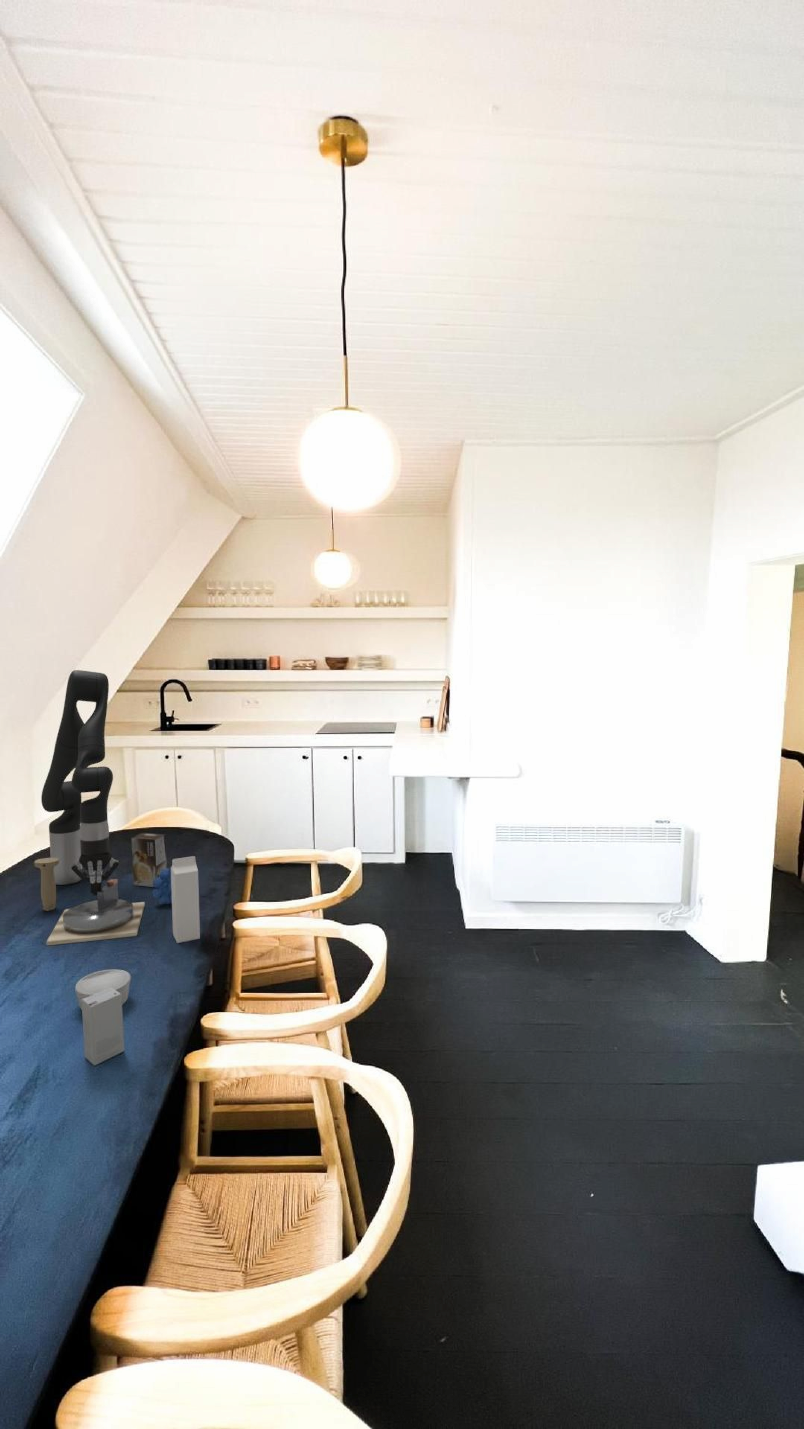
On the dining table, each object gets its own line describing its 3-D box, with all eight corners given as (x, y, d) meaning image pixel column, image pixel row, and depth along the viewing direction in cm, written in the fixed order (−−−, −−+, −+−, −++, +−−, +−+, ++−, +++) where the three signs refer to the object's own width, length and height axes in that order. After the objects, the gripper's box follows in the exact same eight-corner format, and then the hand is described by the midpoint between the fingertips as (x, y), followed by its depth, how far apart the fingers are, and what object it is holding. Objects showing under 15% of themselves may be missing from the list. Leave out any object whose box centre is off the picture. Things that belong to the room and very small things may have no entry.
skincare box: (114, 1043, 130) (111, 985, 129) (125, 1052, 127) (123, 993, 126) (83, 1058, 125) (79, 998, 124) (93, 1067, 122) (90, 1006, 121)
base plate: (65, 912, 193) (64, 908, 193) (144, 904, 199) (144, 901, 199) (46, 945, 172) (46, 941, 172) (136, 935, 178) (136, 931, 178)
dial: (85, 905, 195) (84, 878, 194) (145, 906, 194) (144, 879, 194) (49, 932, 177) (48, 903, 176) (115, 934, 176) (113, 904, 175)
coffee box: (168, 881, 219) (167, 834, 217) (157, 887, 213) (155, 839, 211) (144, 878, 221) (142, 832, 219) (132, 885, 215) (130, 837, 213)
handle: (58, 911, 194) (55, 862, 192) (34, 913, 192) (32, 863, 191) (63, 905, 198) (61, 857, 197) (40, 906, 197) (37, 858, 195)
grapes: (191, 895, 206) (190, 858, 205) (193, 903, 200) (192, 865, 199) (152, 900, 202) (150, 863, 201) (152, 909, 196) (151, 870, 194)
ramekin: (116, 985, 152) (115, 963, 152) (141, 1001, 145) (140, 979, 145) (66, 1005, 144) (65, 982, 143) (91, 1024, 137) (89, 1000, 136)
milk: (200, 938, 176) (198, 859, 174) (176, 943, 173) (174, 862, 171) (195, 930, 182) (193, 852, 179) (172, 934, 179) (170, 856, 176)
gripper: (67, 841, 182) (69, 902, 184) (118, 837, 187) (120, 896, 188) (70, 834, 189) (72, 892, 191) (120, 830, 194) (122, 887, 195)
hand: (96, 894), depth 190 cm, fingers closed
